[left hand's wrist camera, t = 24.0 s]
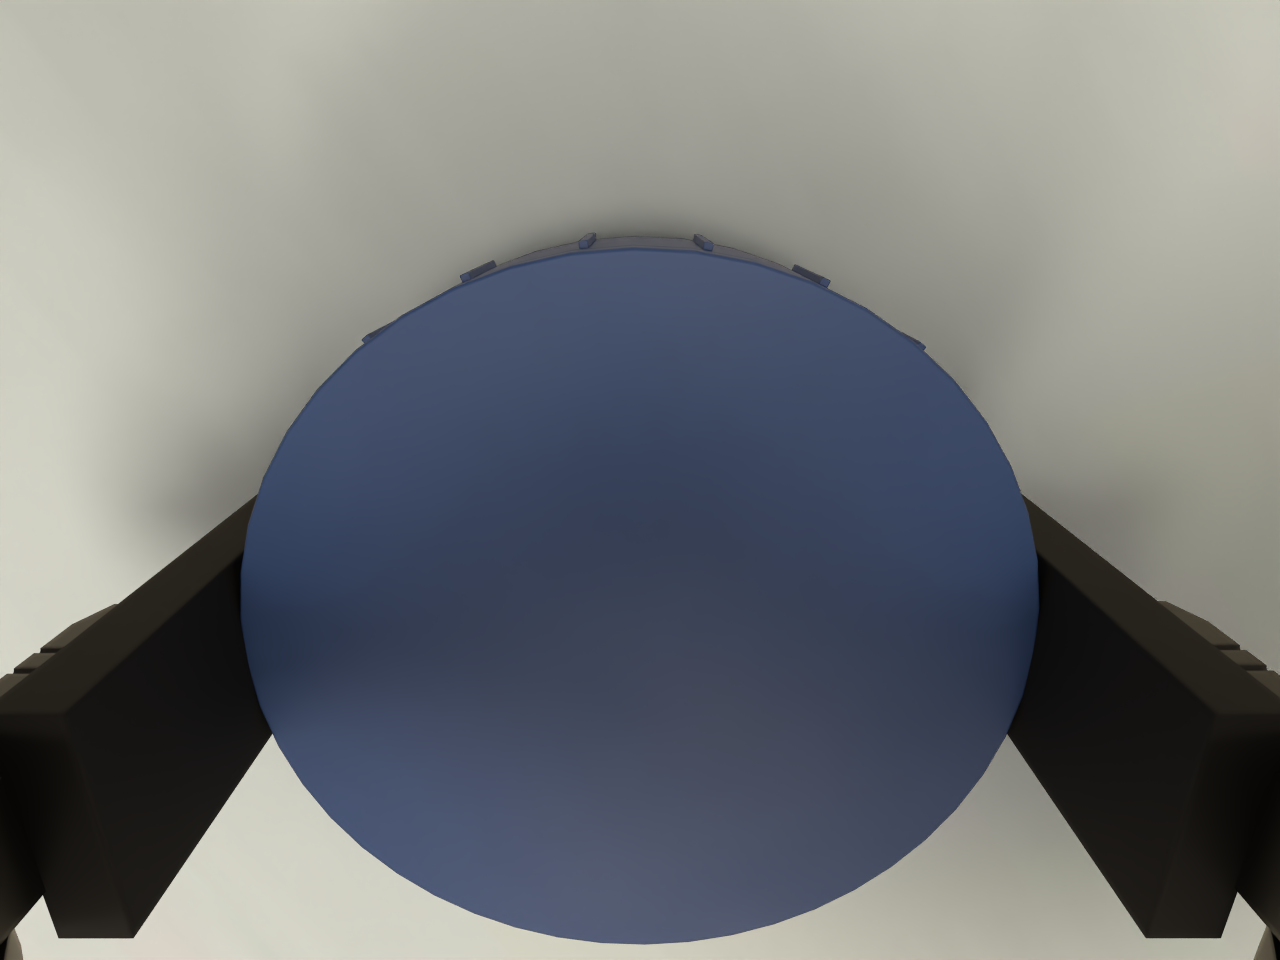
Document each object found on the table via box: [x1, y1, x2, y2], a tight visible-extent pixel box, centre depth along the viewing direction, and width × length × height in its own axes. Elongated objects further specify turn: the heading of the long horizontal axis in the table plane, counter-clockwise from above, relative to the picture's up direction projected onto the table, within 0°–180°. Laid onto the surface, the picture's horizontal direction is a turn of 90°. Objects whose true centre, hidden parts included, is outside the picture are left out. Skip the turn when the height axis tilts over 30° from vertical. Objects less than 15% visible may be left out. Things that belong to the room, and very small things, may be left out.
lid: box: [240, 233, 1039, 944], centre depth 11 cm, size 10×10×2 cm
